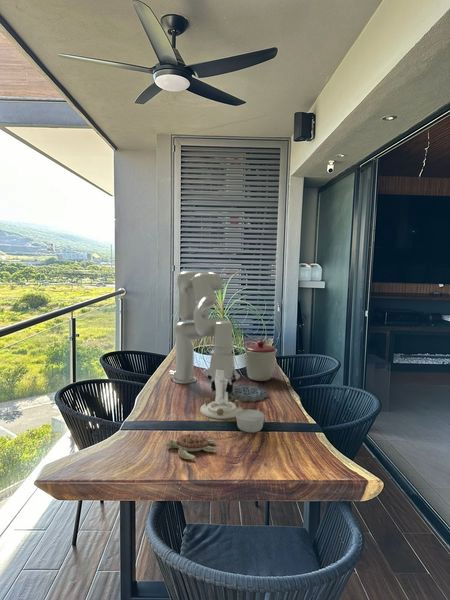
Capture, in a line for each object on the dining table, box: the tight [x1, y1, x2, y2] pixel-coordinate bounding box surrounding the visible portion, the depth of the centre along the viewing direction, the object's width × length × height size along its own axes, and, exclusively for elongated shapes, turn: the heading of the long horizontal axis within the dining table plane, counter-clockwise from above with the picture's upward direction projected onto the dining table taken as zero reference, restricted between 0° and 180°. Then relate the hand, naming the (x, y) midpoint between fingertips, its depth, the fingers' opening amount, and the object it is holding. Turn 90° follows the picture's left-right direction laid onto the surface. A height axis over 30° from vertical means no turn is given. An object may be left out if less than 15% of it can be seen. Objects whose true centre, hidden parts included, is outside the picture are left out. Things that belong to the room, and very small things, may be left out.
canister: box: [243, 340, 278, 382], centre depth 216 cm, size 18×18×21 cm
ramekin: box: [235, 408, 265, 433], centre depth 152 cm, size 11×11×5 cm
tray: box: [199, 397, 244, 420], centre depth 168 cm, size 18×18×4 cm
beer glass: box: [214, 369, 230, 405], centre depth 167 cm, size 7×7×15 cm
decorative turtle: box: [166, 433, 217, 460], centre depth 134 cm, size 18×17×5 cm
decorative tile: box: [228, 384, 269, 403], centre depth 189 cm, size 20×20×2 cm
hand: (221, 391), depth 167 cm, fingers closed on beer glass, 6 cm apart
